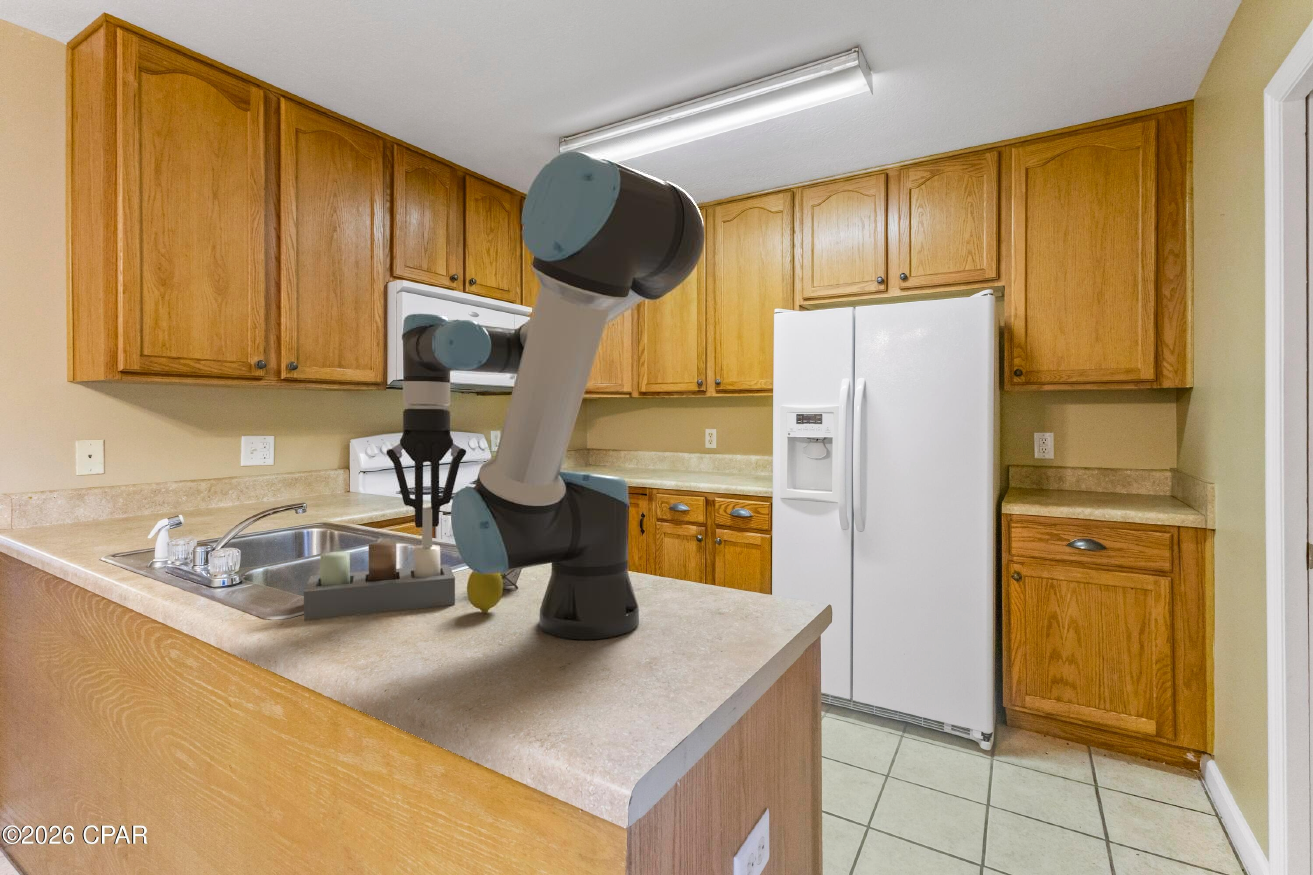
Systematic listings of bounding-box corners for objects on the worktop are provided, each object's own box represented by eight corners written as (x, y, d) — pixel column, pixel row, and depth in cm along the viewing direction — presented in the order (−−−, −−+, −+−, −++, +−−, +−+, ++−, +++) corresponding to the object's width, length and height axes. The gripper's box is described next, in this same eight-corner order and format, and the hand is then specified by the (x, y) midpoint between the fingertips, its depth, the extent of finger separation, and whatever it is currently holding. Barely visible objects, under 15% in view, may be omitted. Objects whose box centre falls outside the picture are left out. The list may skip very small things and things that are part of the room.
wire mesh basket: (490, 609, 114) (460, 563, 115) (526, 584, 120) (497, 541, 121) (508, 595, 107) (475, 547, 108) (545, 569, 113) (513, 524, 114)
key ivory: (441, 590, 106) (441, 549, 106) (414, 592, 104) (414, 550, 104) (439, 583, 110) (439, 544, 110) (413, 586, 108) (413, 545, 108)
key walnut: (396, 587, 103) (396, 545, 103) (368, 590, 101) (368, 547, 101) (396, 581, 107) (395, 540, 107) (369, 583, 105) (368, 542, 105)
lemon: (493, 619, 97) (493, 568, 97) (460, 616, 98) (460, 566, 98) (508, 608, 102) (508, 560, 102) (477, 606, 104) (477, 558, 103)
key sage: (349, 599, 100) (349, 556, 100) (319, 602, 99) (319, 558, 98) (350, 592, 104) (350, 550, 104) (322, 595, 103) (321, 552, 102)
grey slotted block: (454, 604, 104) (454, 577, 104) (304, 620, 95) (303, 591, 95) (449, 588, 113) (448, 564, 113) (310, 602, 104) (310, 575, 104)
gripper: (464, 408, 112) (463, 539, 113) (384, 407, 107) (385, 544, 108) (469, 408, 105) (469, 547, 106) (385, 407, 100) (385, 553, 101)
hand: (426, 545), depth 107 cm, fingers closed
